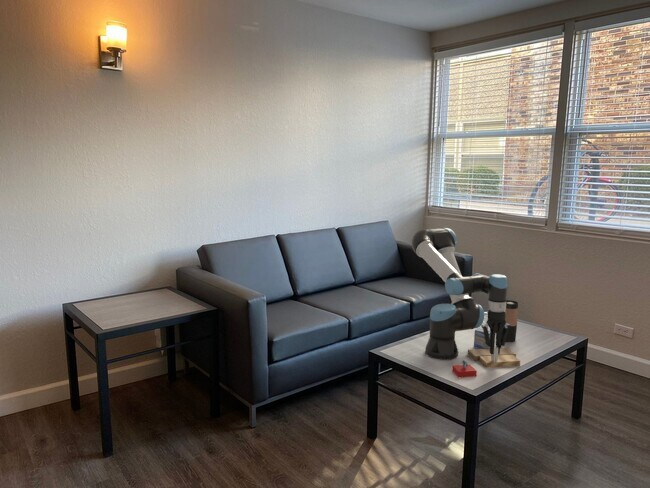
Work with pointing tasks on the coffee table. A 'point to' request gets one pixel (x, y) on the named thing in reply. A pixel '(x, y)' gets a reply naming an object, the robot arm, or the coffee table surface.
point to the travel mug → (511, 319)
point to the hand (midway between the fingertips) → (494, 360)
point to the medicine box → (480, 339)
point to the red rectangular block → (464, 370)
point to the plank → (500, 361)
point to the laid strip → (488, 353)
